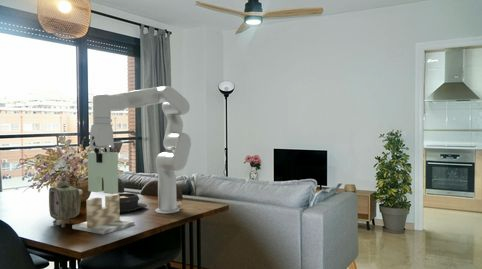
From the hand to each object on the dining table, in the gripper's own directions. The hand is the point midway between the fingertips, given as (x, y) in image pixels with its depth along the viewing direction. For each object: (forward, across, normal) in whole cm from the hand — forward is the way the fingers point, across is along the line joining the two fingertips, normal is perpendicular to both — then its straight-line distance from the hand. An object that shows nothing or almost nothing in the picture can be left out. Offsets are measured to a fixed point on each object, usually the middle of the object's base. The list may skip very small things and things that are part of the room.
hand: (102, 161), depth 175 cm
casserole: (+30, -28, -17) cm, 44 cm away
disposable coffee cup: (+30, -12, -37) cm, 49 cm away
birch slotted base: (+29, 0, 0) cm, 30 cm away
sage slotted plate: (+14, 0, 0) cm, 14 cm away
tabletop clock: (+30, +6, -19) cm, 36 cm away
